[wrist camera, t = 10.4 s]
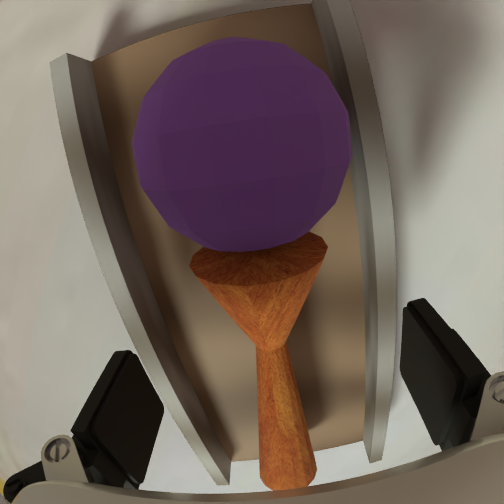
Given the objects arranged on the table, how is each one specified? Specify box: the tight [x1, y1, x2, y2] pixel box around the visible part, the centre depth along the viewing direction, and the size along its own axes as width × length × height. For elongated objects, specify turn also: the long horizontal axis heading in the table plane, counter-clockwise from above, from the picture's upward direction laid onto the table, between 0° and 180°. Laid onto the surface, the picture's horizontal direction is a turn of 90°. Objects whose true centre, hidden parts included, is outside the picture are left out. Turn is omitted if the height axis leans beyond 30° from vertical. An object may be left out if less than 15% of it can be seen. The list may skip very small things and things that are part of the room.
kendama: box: [132, 37, 352, 491], centre depth 11 cm, size 6×6×20 cm
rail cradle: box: [50, 0, 396, 485], centre depth 13 cm, size 24×11×3 cm, turn 12°
